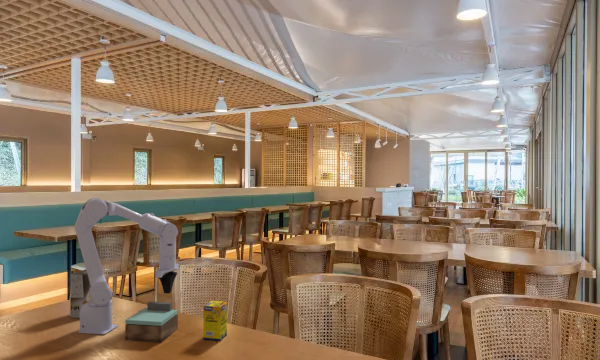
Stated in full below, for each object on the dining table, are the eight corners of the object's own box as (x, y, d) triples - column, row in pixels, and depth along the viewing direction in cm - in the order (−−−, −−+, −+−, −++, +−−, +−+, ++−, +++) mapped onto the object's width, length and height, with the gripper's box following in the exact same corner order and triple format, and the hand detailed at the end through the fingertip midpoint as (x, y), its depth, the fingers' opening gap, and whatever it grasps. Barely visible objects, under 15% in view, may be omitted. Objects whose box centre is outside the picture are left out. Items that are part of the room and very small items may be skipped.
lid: (125, 323, 132) (125, 312, 132) (144, 311, 144) (144, 301, 144) (161, 325, 130) (161, 314, 130) (177, 313, 142) (177, 302, 142)
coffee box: (85, 318, 151) (85, 274, 151) (69, 317, 153) (69, 273, 152) (101, 310, 160) (102, 269, 160) (87, 309, 162) (87, 268, 161)
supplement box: (220, 341, 132) (220, 306, 131) (202, 340, 133) (203, 305, 133) (227, 334, 137) (227, 301, 137) (210, 333, 139) (210, 300, 138)
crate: (125, 340, 132) (125, 324, 132) (144, 326, 144) (144, 312, 144) (161, 342, 130) (161, 326, 130) (177, 328, 142) (177, 314, 142)
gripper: (169, 259, 144) (169, 299, 144) (186, 252, 159) (186, 288, 159) (149, 259, 145) (149, 298, 145) (168, 251, 159) (168, 287, 160)
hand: (167, 292), depth 152 cm, fingers closed
